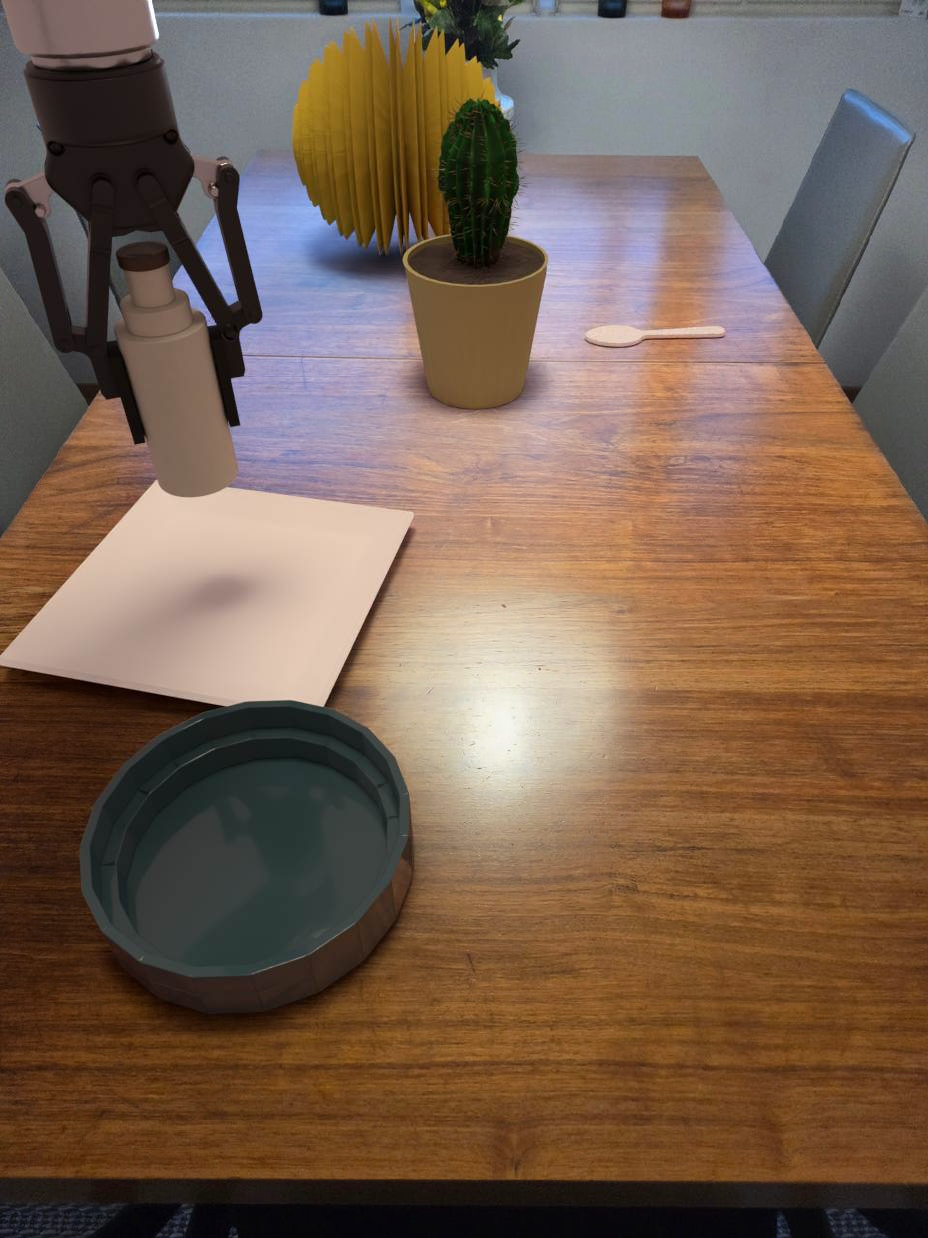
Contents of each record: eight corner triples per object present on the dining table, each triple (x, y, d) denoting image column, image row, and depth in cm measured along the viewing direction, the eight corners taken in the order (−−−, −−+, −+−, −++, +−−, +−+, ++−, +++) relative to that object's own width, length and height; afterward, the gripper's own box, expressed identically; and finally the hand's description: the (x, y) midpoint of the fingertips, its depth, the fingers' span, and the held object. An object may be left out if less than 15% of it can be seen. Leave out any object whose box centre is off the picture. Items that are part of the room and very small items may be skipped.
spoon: (730, 341, 110) (731, 337, 110) (589, 347, 109) (589, 343, 109) (718, 323, 114) (718, 319, 114) (581, 329, 113) (582, 325, 113)
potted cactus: (397, 364, 106) (379, 80, 86) (517, 348, 109) (527, 70, 89) (426, 427, 95) (414, 118, 75) (559, 407, 98) (582, 105, 78)
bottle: (162, 504, 64) (94, 273, 52) (154, 462, 68) (89, 240, 57) (244, 488, 65) (195, 259, 54) (232, 448, 69) (184, 228, 58)
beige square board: (319, 739, 63) (315, 720, 62) (1, 680, 68) (-9, 661, 66) (416, 528, 82) (415, 509, 81) (162, 493, 87) (157, 475, 85)
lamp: (510, 288, 124) (517, 34, 103) (297, 293, 123) (262, 38, 102) (496, 217, 146) (499, -4, 125) (315, 221, 145) (289, -1, 125)
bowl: (114, 1069, 47) (86, 1030, 43) (97, 792, 60) (74, 745, 57) (454, 951, 51) (453, 907, 48) (368, 718, 65) (362, 671, 61)
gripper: (252, 29, 53) (303, 380, 69) (-91, 54, 48) (47, 425, 64) (276, 52, 48) (325, 426, 63) (-106, 82, 43) (49, 478, 59)
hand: (186, 425), depth 64 cm, fingers closed on bottle, 6 cm apart
